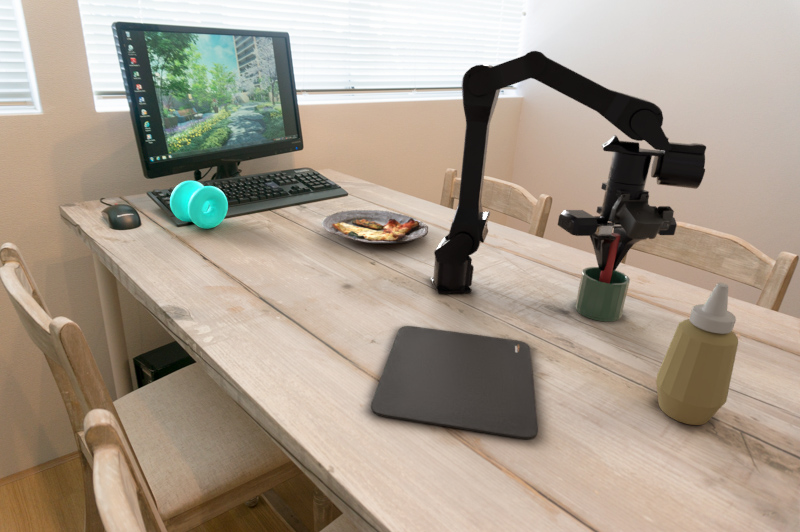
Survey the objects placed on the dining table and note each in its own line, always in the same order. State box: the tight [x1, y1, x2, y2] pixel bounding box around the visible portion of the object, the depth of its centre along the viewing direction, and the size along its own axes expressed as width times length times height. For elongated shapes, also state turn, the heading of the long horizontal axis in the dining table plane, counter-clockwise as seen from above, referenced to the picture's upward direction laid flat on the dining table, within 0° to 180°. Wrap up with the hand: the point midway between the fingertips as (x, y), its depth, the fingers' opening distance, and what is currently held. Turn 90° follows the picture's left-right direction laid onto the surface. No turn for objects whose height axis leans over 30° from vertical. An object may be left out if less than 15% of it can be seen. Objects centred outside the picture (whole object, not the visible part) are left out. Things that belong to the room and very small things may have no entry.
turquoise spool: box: [169, 180, 229, 230], centre depth 125 cm, size 10×10×10 cm
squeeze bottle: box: [655, 282, 739, 426], centre depth 65 cm, size 8×8×18 cm
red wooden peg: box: [599, 232, 620, 283], centre depth 91 cm, size 2×2×9 cm
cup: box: [574, 266, 631, 323], centre depth 93 cm, size 8×8×7 cm
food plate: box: [321, 209, 429, 245], centre depth 126 cm, size 25×23×4 cm
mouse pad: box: [370, 325, 539, 440], centre depth 73 cm, size 23×20×1 cm
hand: (606, 269), depth 91 cm, fingers closed on red wooden peg, 2 cm apart
